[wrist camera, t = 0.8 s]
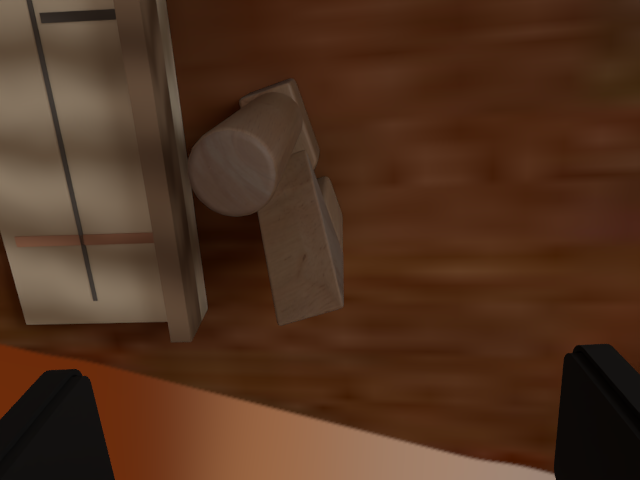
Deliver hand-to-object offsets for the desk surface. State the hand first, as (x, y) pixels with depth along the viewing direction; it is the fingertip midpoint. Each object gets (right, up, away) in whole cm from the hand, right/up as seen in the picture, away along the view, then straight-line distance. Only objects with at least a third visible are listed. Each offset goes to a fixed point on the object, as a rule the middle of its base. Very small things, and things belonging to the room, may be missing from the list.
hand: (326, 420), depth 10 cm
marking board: (-17, +11, +27) cm, 34 cm away
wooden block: (-2, +10, +28) cm, 29 cm away
